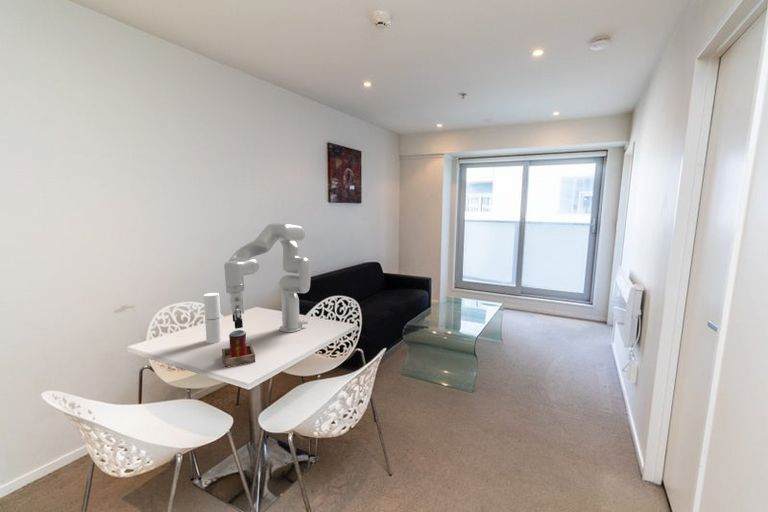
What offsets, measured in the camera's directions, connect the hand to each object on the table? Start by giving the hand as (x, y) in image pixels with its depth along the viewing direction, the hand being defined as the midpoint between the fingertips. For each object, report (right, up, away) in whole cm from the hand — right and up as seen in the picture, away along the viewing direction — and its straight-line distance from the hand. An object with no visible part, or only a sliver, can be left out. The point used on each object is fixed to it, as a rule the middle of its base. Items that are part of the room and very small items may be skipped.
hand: (237, 324), depth 156 cm
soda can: (0, -16, +2) cm, 16 cm away
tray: (0, -16, +2) cm, 16 cm away
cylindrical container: (-22, -13, +23) cm, 34 cm away
